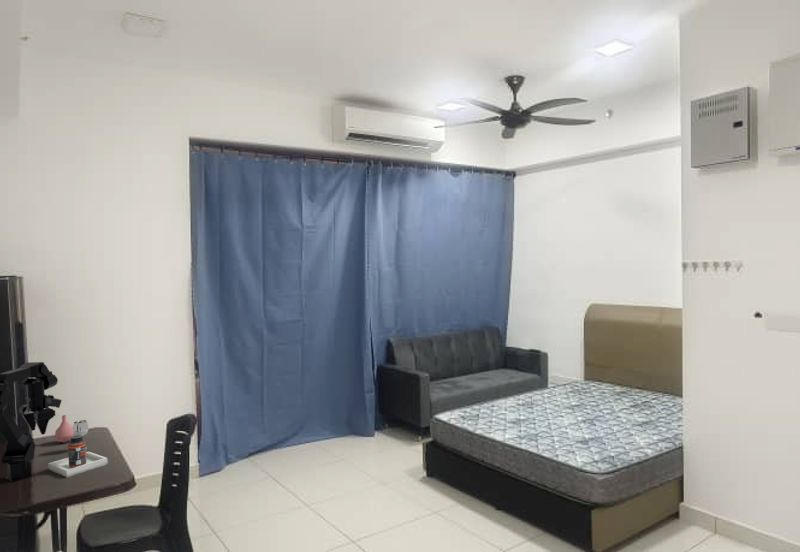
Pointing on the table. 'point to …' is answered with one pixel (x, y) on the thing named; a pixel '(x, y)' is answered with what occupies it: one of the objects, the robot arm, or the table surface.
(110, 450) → the table surface
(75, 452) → the supplement bottle
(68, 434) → the pink vase
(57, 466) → the tray
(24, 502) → the table surface
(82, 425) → the wineglass
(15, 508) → the table surface
